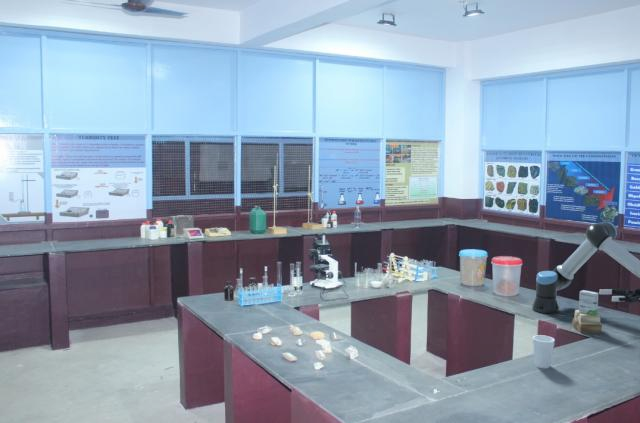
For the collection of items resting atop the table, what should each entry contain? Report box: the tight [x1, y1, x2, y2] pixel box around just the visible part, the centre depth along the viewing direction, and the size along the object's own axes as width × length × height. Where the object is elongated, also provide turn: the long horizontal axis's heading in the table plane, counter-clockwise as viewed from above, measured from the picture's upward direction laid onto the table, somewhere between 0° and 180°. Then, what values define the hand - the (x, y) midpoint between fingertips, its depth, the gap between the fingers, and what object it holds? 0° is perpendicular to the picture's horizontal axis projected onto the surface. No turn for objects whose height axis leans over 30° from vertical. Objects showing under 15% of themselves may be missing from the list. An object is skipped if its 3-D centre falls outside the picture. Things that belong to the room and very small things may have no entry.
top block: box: [573, 309, 602, 325], centre depth 309 cm, size 10×10×5 cm
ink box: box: [578, 289, 599, 315], centre depth 308 cm, size 9×5×12 cm, turn 44°
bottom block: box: [571, 317, 603, 334], centre depth 310 cm, size 11×11×5 cm
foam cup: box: [532, 334, 555, 369], centre depth 261 cm, size 10×9×13 cm
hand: (605, 295), depth 308 cm, fingers open, 13 cm apart
